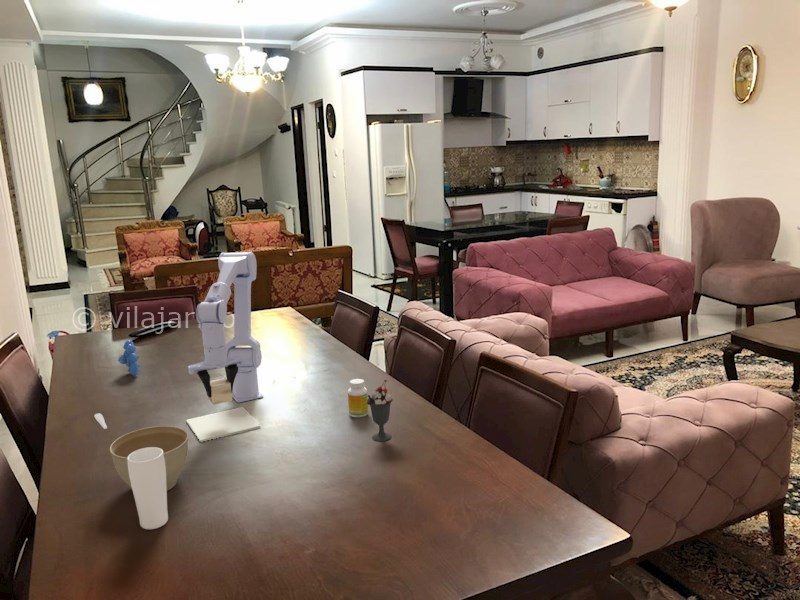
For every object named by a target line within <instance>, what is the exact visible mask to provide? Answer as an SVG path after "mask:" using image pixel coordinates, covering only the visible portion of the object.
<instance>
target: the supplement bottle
mask: <svg viewBox="0 0 800 600" xmlns="http://www.w3.org/2000/svg"><path fill="white" fill-rule="evenodd" d="M368 395H369V394H368V389H367V388H366V387H365V380H364V379H362V378H354V379H351V380H349V388H348V390H347V401H348V415H349V416H350V417H353V418H364V417H366V416H367V415H368V414H369V405H368V404H367V399H368V398H369V397H368Z"/></svg>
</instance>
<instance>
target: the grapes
mask: <svg viewBox="0 0 800 600" xmlns="http://www.w3.org/2000/svg"><path fill="white" fill-rule="evenodd" d="M122 348H123V349H124V351H123V354H121V355H120V356H119V357H118V360H117V362H119V363H120V364H121V365H125V366H126V367H128V369H127V372H128V373H129V374H130V375H132V376H133V377H136V376H138V374H139V373H140V369H139V368H140V364H139V363H138V360H139V357H140V356H139V355H138V354H137V353H136V350H137V347H136V346H135V343H134V342H133V341H132V340H130V339H127V340H126V341H125V343H124V345H123V346H122Z"/></svg>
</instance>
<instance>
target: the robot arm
mask: <svg viewBox="0 0 800 600" xmlns="http://www.w3.org/2000/svg"><path fill="white" fill-rule="evenodd" d="M256 258H257V257H256V255H255V254H254V252H252V251H245V252H242V251H241V252H221V253H220V254H219V256H218V261H217V263H218V270H219V274H218V278H217V281H216V282H215V283H212V285H210V287H209V290H208V292H207V294H206V296H205V298H204V300H203V301H201V302H200V303H199V304H197V306H196V309H195V310H196V311H195V313H196V314H195V317H196V321H197V323H198V327H199V330H200V331H201V335H202V344H203V354H204V361H201V362H198V363H195V364H190V365H188V366H187V368H188V373H189V375H190V376H191V375H195V374H197V376H198V377H199V379H200V380H201V383H202V384H203V387H204V389H205V392H206V396H207V397H208V399H209V398H210V397H211V388H210V381H211V375H210V374H209V372H208V371H212V370H218V369H222V368H224V371H225V375H226V377H225V378H226V379H227V380H228V381H229V382H230V383H231V393H232V399H233V400H235V402H237V403H243V402H248V401H252V400H257V399H261V398H263V397H264V394H262V392H260V390H259V380H258V371H257V368H259V367H260V365H261V364H262V358H263V357H262V350H261V343H260V342H259V340H257V339H255V338H254V336H252V327H251V326H252V316H251V315H252V305H251V304H252V302H251V301H252V296H251V295H252V291H251V290H252V282H254V281H255V280H256V279H257V274H258V272H257V259H256ZM232 284H233V285H234V287H233V288H234V290H233V291H234V295H233V296H234V298H233V299H234V302H233V303H234V308H233V310H234V316H233V317H234V319H233V321H234V327H233V328H234V329H233V331H234V335H233V337H232V338H231V339H230V340H228V342H226V333H225V321H226V320H227V312H228V306H227V305H228V302H229V300H230V297H231V295H232V288H231V286H232ZM244 346H246V347H244Z"/></svg>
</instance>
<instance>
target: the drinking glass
mask: <svg viewBox="0 0 800 600" xmlns="http://www.w3.org/2000/svg"><path fill="white" fill-rule="evenodd" d="M127 462H128V472H129V478H130V482H131V486H132V488H131V491H132V490H133V491H132V493H133V497H134V501H135V506H136V510H137V515H138V519H139V520H138V521H139V525H140V527H141V528H142V529H144V530H155V529H159V528H161V527H163V526H165V525H166V524H167V522H169V521H168V520H169V513H168V491H167V484H166V465H165V458H164V453H163V450H162V449H160V448H157V447H148V448H142V449H139V450H136V451H134V452H132V453H131V454H130V455H129V456H128V457H127Z"/></svg>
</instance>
